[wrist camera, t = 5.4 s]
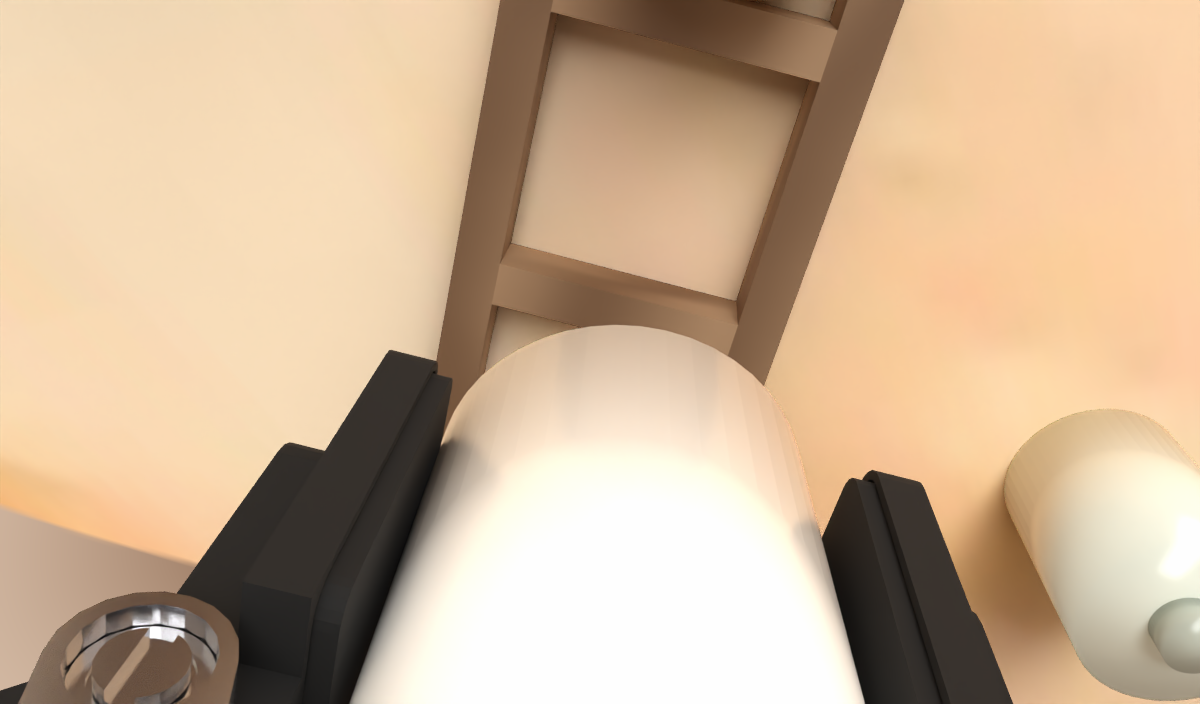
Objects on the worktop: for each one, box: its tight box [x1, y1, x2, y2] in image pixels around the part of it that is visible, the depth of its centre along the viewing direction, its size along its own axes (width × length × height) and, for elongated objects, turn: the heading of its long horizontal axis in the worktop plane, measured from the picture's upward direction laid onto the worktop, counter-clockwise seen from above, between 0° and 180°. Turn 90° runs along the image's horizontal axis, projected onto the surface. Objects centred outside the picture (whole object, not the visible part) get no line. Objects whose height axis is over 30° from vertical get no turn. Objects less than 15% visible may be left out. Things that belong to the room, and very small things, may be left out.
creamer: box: [349, 325, 865, 704], centre depth 9 cm, size 6×4×6 cm
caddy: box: [437, 0, 904, 440], centre depth 24 cm, size 9×24×2 cm, turn 166°
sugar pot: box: [1004, 409, 1200, 701], centre depth 25 cm, size 5×5×7 cm
